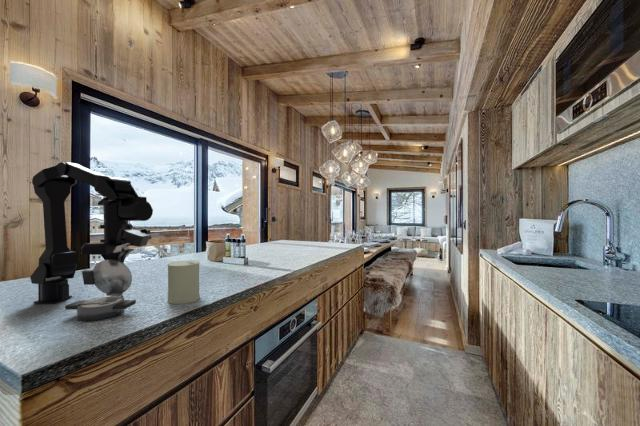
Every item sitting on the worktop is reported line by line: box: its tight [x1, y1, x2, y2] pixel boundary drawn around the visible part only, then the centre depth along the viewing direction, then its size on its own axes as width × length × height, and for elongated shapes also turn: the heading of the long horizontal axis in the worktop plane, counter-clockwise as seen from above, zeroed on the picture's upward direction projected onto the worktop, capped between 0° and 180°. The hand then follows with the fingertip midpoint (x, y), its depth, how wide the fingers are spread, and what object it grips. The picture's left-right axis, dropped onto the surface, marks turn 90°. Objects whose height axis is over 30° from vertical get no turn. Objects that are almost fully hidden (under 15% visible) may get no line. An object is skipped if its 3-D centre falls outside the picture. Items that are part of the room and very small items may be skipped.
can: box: [167, 260, 201, 305], centre depth 89 cm, size 9×9×12 cm
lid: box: [81, 259, 133, 297], centre depth 80 cm, size 13×11×1 cm
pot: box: [65, 295, 137, 323], centre depth 76 cm, size 15×11×4 cm
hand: (117, 274), depth 81 cm, fingers closed
